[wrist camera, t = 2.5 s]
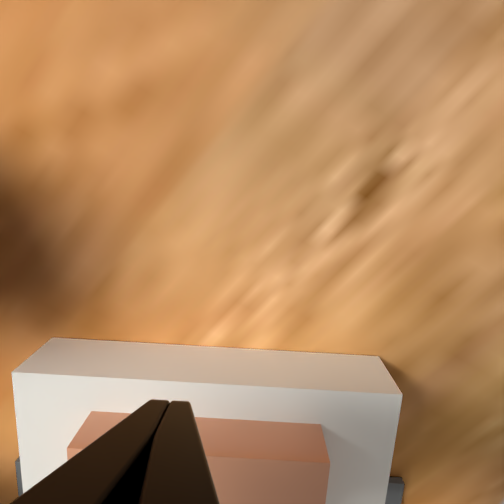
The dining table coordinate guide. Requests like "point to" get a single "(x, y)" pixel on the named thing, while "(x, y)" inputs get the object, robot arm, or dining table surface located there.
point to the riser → (213, 400)
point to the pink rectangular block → (247, 457)
